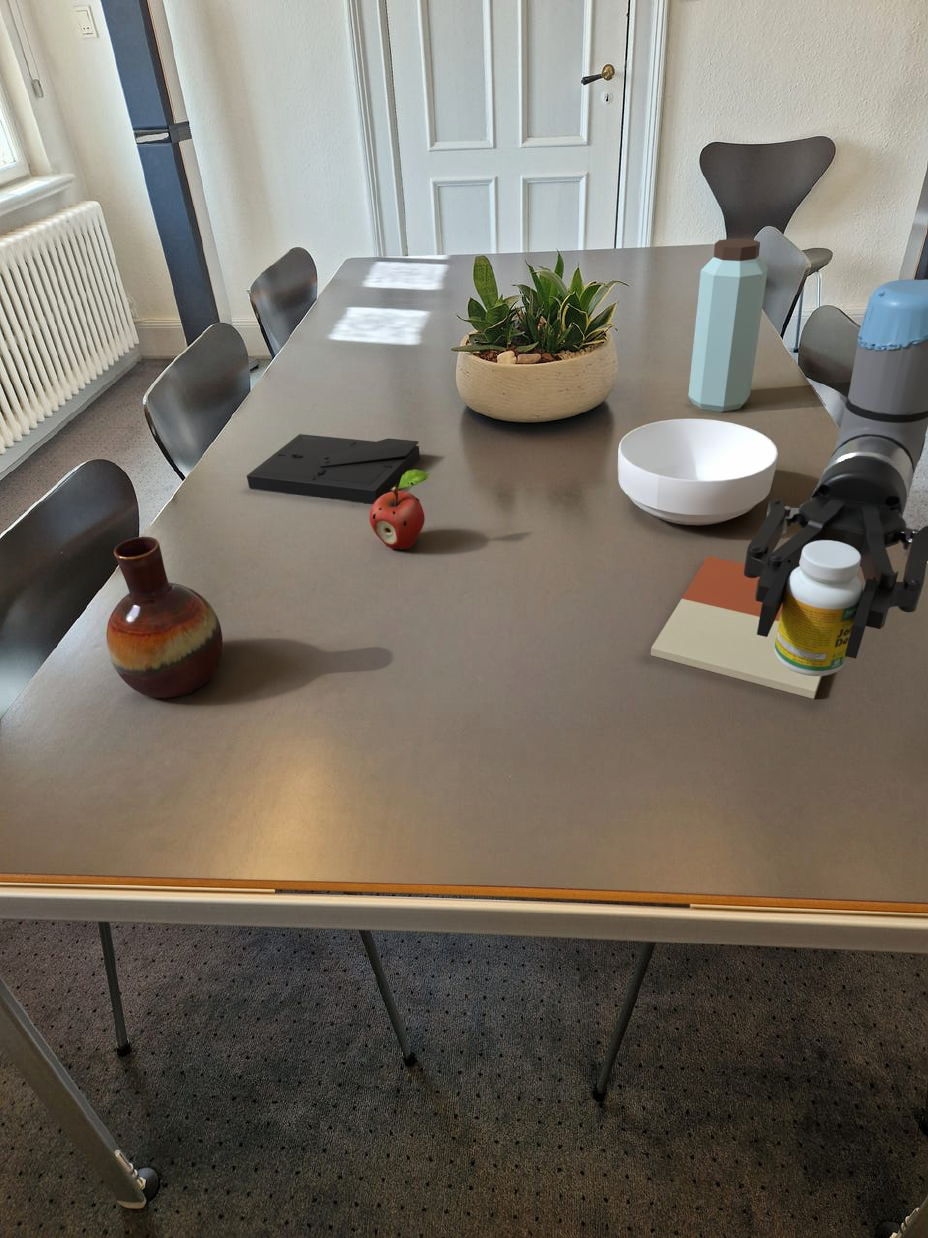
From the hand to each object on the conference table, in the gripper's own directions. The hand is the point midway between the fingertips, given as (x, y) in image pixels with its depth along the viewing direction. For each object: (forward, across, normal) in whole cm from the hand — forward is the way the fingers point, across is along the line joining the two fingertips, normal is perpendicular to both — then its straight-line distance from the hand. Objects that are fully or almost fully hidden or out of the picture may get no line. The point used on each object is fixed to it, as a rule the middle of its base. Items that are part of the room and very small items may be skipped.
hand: (808, 630), depth 60 cm
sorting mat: (-25, +7, -18) cm, 31 cm away
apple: (-24, +51, -18) cm, 59 cm away
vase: (+9, +58, -18) cm, 62 cm away
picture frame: (-38, +72, -18) cm, 84 cm away
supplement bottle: (-5, 0, -6) cm, 8 cm away
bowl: (-48, +21, -18) cm, 55 cm away
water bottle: (-86, +28, -18) cm, 92 cm away
